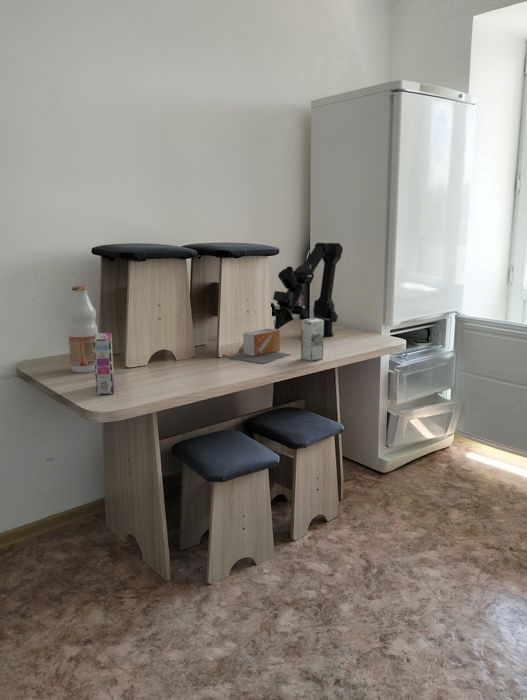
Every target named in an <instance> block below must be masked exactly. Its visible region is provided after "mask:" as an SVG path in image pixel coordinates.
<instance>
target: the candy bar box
mask: <svg viewBox="0 0 527 700" xmlns="http://www.w3.org/2000/svg"><path fill="white" fill-rule="evenodd" d="M112 339H113V338H112V333H111V332H98V333H96V334H95V337H94V340H93V342H94V358H95V371H94V372H95V386H96V387H95V388H96V396H107V395H108V396H111V395H114V390H115V389H114V388H115V375H114V372H115V371H114V356H113V355H114V354H113V340H112Z"/></svg>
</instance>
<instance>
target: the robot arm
mask: <svg viewBox="0 0 527 700" xmlns="http://www.w3.org/2000/svg"><path fill="white" fill-rule="evenodd" d="M343 251H344V250H343V246H342V245H341V243H339V242H316V243H315V244H314V248H313V249H312V251H311V252H310V253H309V256H308V257H307V258H306V260H305V261H304V263H303V264H302V265H300V266H297V268H296V269H295V270H294V268H293V266H286V268H284V269H282V270H281V271H279V273H278V275H277V277H278V279H279V281H280V282H281V284H282V285H283V287H284V289H287V291H286V292H285V291H279V290H278V291H276V290H274V293H273V298H272V300H273V301H276V304H277V305H275V304H274V302H270V303H271V307H272V316H271V317H275V322H274V330H279V329H280V328H281V327H283V326H285V325H286V324H288V323H289V322H291V321H294V320H295V319H294V318H295V317H296V315H299V316H298V317H299V319H300V320H301V321H302V320H303V319H309V315H310V313H309V312H308V310H307V309H306V307H305V306H304V305H300V302H299V301H300V298H301V297H302V295H304V296H305V295H306V294H307V293H306V290H305V287H304V286H309V285H311V283H312V281H313V280H314V277H315V275H314V274H315V273H314V272H315V269H317V267H318V266H319V264H320V262H321V260H323V272H322V276H321V277H322V278H321V287H320V293H319V298H318V299H316V300H314V301H313V302H314V305H313V309H312V311H313V313H312V314H313V316H314V317H313V318H318V319H321V320H323V321H324V336H323V337H334V334H335V332H333V326H334V325H333V323H336V322H338V318H339V316H338V314H337V312H336V310H335V303H334V300H333V299H332V298H333V297H332V296H333V289H334V283H335V282H334V280H335V273H336V267H337V264H338V263H339V261H340V259H341V257H342V253H343Z"/></svg>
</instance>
